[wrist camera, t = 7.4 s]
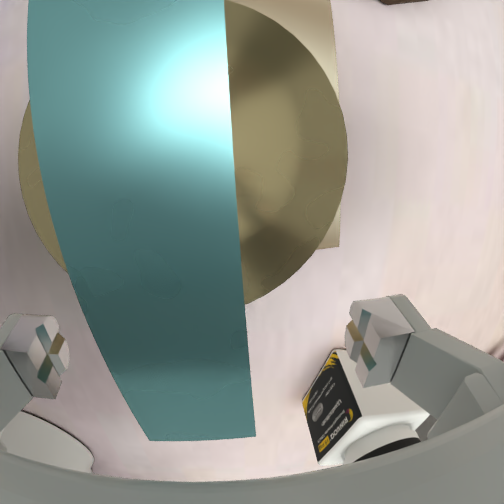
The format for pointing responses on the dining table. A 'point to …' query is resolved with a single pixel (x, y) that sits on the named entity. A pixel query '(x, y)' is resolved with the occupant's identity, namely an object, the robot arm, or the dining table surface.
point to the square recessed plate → (317, 42)
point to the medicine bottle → (357, 415)
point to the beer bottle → (399, 1)
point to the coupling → (177, 188)
